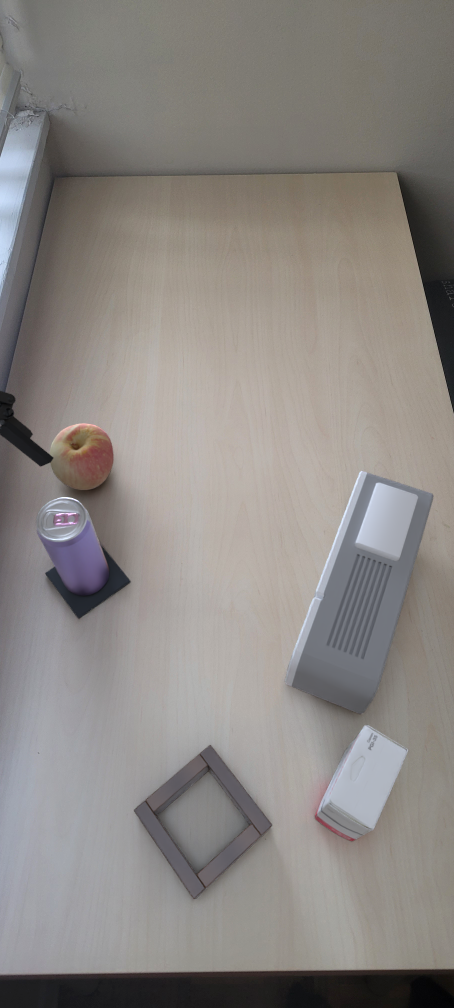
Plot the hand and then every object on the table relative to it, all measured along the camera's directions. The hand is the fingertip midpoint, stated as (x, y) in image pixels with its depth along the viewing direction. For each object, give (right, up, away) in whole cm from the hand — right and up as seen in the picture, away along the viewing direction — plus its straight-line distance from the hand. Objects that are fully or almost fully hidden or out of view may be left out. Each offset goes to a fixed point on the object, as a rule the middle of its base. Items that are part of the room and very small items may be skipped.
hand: (16, 507), depth 73 cm
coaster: (+6, -9, +11) cm, 15 cm away
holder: (+22, -34, -4) cm, 40 cm away
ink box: (+37, -31, -3) cm, 49 cm away
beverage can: (+6, -9, +10) cm, 15 cm away
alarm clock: (+40, -13, +9) cm, 43 cm away
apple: (+4, +5, +20) cm, 21 cm away
